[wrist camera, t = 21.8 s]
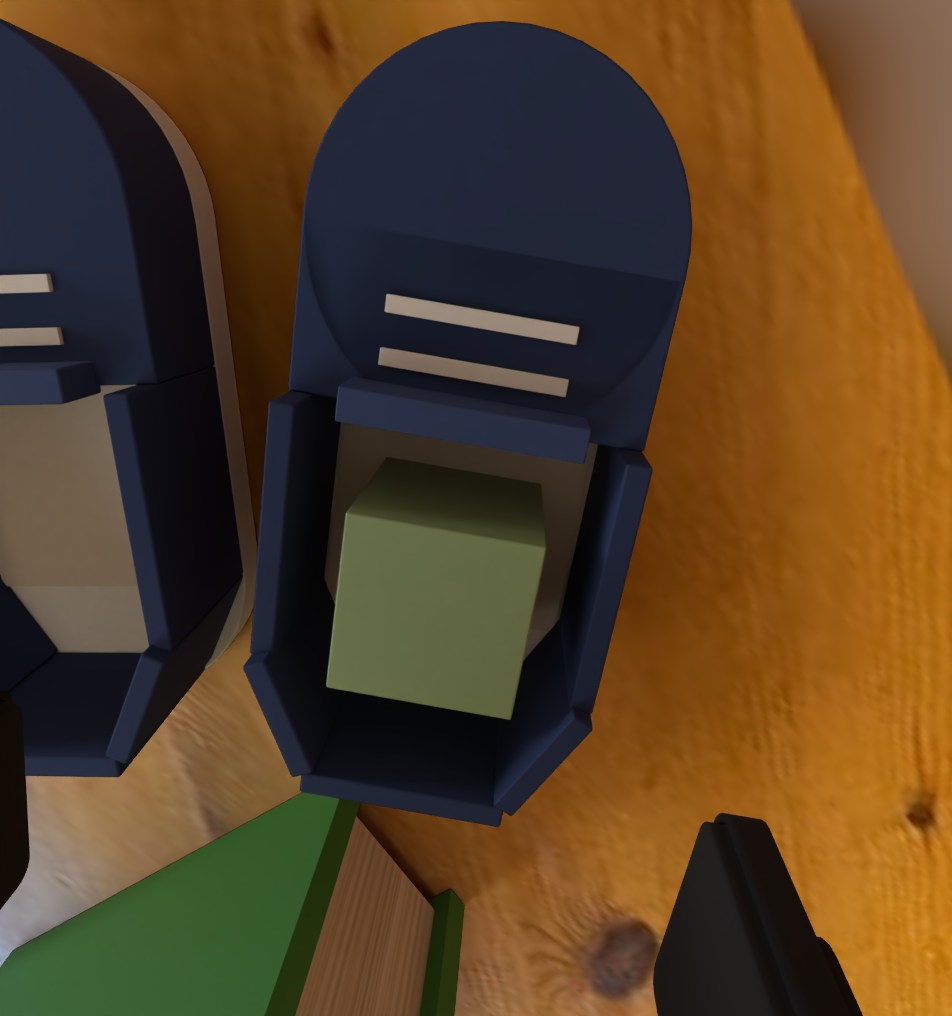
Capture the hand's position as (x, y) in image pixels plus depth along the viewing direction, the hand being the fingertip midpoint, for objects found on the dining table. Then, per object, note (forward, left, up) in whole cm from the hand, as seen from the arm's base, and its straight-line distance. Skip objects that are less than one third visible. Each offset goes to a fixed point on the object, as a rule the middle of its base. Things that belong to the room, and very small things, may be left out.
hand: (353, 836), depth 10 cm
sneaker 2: (-3, +1, -14) cm, 15 cm away
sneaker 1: (-3, -11, -14) cm, 18 cm away
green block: (+1, 0, -13) cm, 13 cm away
